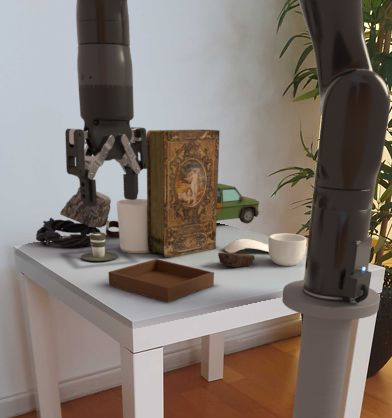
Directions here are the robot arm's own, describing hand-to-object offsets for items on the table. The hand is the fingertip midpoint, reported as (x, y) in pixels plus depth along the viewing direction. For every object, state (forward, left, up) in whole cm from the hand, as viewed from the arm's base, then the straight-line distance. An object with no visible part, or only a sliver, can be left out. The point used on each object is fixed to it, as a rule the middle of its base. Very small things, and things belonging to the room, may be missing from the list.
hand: (111, 202), depth 84 cm
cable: (+41, -25, -16) cm, 51 cm away
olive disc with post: (+24, -18, -16) cm, 34 cm away
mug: (+24, -30, -16) cm, 42 cm away
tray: (+1, -12, -16) cm, 20 cm away
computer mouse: (+4, -46, -17) cm, 49 cm away
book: (+15, -35, -16) cm, 42 cm away
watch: (+38, -36, -16) cm, 55 cm away
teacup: (-7, -42, -16) cm, 46 cm away
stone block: (+40, -30, -4) cm, 50 cm away
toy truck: (+28, -66, -16) cm, 74 cm away
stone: (-1, -33, -16) cm, 37 cm away
